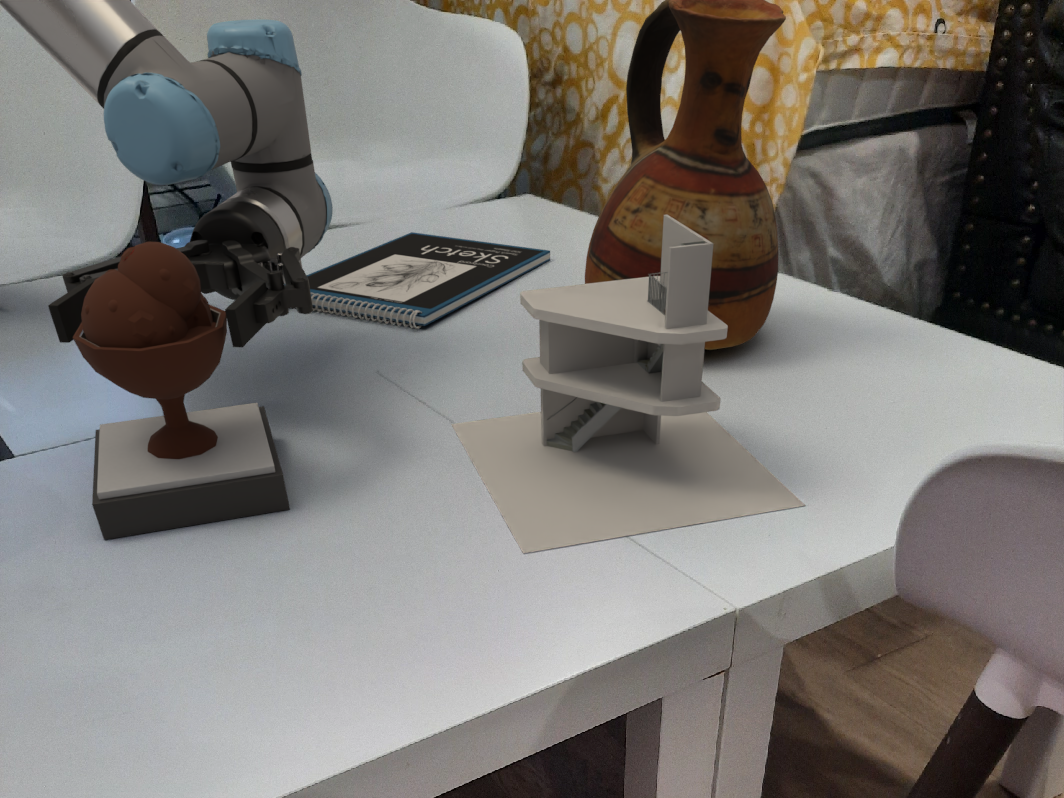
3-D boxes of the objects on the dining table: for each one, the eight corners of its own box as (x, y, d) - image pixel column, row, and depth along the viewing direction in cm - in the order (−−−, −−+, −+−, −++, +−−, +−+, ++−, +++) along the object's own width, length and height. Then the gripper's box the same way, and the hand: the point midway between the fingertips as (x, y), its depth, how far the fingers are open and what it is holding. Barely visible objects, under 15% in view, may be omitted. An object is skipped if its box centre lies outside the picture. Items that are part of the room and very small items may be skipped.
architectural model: (684, 391, 96) (700, 181, 84) (805, 505, 78) (846, 259, 66) (451, 424, 91) (433, 206, 80) (523, 553, 73) (514, 297, 62)
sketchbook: (550, 261, 130) (550, 244, 128) (420, 334, 110) (418, 314, 108) (412, 241, 138) (410, 225, 137) (267, 305, 118) (264, 287, 116)
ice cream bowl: (206, 405, 86) (159, 215, 77) (278, 443, 80) (237, 242, 71) (88, 444, 81) (23, 245, 71) (156, 488, 75) (94, 277, 65)
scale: (106, 462, 86) (93, 422, 84) (270, 438, 90) (262, 399, 87) (104, 540, 76) (89, 497, 74) (290, 509, 79) (281, 467, 77)
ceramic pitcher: (683, 386, 97) (710, 6, 77) (544, 334, 108) (538, -7, 89) (809, 336, 106) (861, -13, 87) (669, 293, 118) (688, -23, 99)
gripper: (387, 291, 91) (317, 381, 75) (126, 286, 94) (5, 372, 78) (376, 200, 86) (300, 275, 70) (102, 198, 89) (-32, 269, 73)
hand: (145, 326), depth 74 cm, fingers open, 13 cm apart
